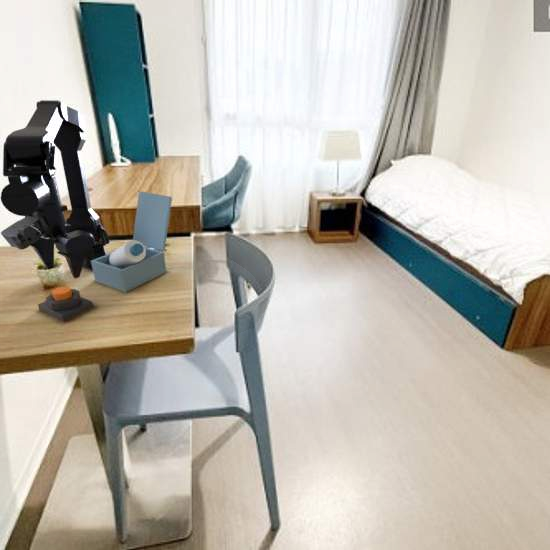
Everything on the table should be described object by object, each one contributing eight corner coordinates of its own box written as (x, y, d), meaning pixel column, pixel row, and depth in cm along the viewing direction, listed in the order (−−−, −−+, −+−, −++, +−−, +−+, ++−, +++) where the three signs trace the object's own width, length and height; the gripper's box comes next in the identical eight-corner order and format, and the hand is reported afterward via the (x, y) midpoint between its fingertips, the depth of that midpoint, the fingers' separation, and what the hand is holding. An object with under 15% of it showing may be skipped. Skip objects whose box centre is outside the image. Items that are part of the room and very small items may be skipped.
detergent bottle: (104, 255, 95) (122, 242, 86) (123, 247, 99) (142, 234, 89) (115, 274, 96) (134, 263, 86) (133, 265, 99) (153, 254, 90)
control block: (39, 311, 81) (35, 297, 80) (69, 297, 87) (65, 284, 85) (64, 322, 77) (60, 308, 76) (93, 307, 83) (90, 294, 81)
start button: (50, 298, 80) (48, 291, 79) (66, 291, 83) (64, 285, 82) (60, 302, 79) (58, 295, 78) (75, 295, 81) (74, 288, 81)
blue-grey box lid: (170, 196, 95) (172, 197, 96) (138, 190, 100) (141, 191, 101) (162, 250, 97) (164, 250, 98) (132, 242, 102) (134, 242, 103)
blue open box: (125, 292, 90) (121, 271, 87) (95, 281, 95) (90, 260, 92) (166, 272, 100) (163, 252, 98) (136, 263, 105) (133, 244, 103)
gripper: (-26, 204, 70) (-1, 277, 77) (30, 219, 62) (53, 299, 69) (32, 193, 79) (51, 259, 86) (88, 204, 71) (104, 277, 78)
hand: (63, 273), depth 79 cm, fingers open, 9 cm apart
